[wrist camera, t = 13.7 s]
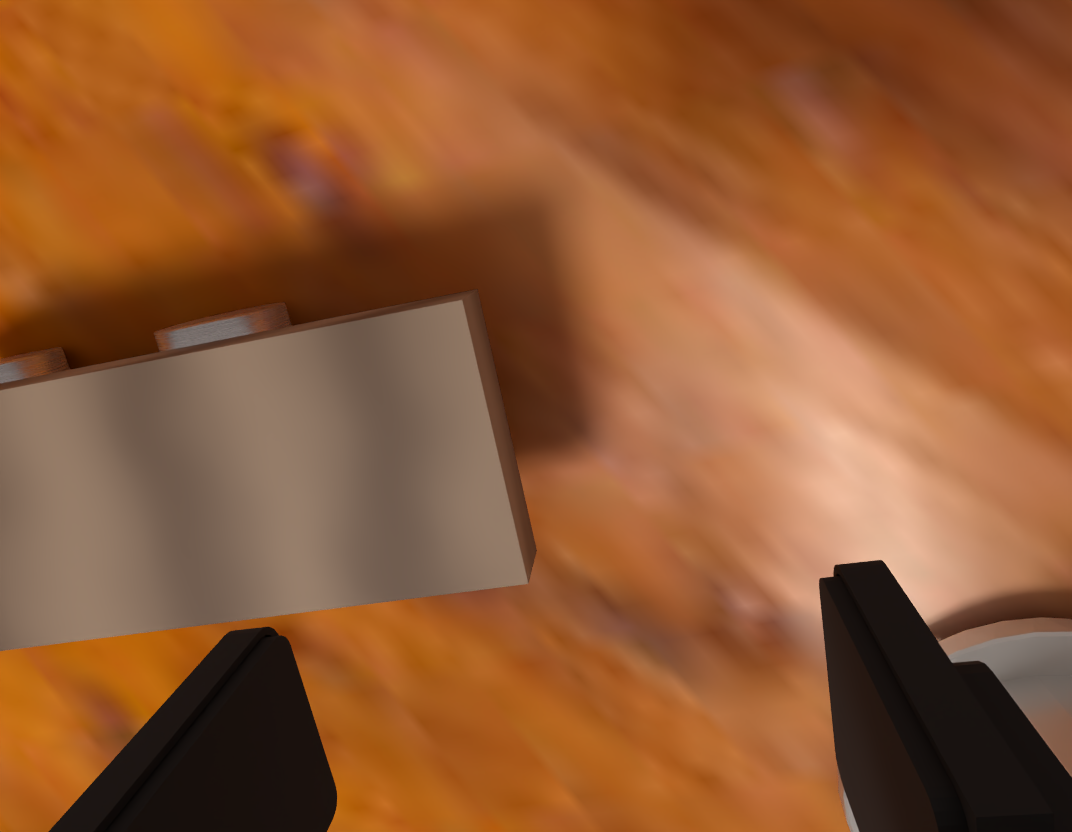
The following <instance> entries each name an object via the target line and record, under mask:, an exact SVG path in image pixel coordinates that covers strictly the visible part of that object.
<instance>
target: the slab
mask: <svg viewBox="0 0 1072 832" xmlns="http://www.w3.org/2000/svg"><path fill="white" fill-rule="evenodd" d="M536 551H537V550H536V545H535V541H534V536H533V532H532V527H531V523H530V519H529V514H528V510H527V505H526V501H525V497H524V492H523V488H522V483H521V479H520V474H519V470H518V466H517V461H516V457H515V452H514V448H513V444H512V439H511V435H510V430H509V426H508V422H507V417H506V413H505V408H504V404H503V399H502V395H501V391H500V386H499V382H498V377H497V373H496V369H495V364H494V360H493V355H492V351H491V346H490V342H489V338H488V333H487V329H486V324H485V320H484V316H483V311H482V307H481V302H480V298H479V294H478V289H475V290H470V291H465V292H460V293H455V294H450V295H445V296H440V297H435V298H430V299H425V300H420V301H415V302H410V303H405V304H399V305H394V306H389V307H384V308H379V309H374V310H369V311H364V312H359V313H354V314H349V315H344V316H339V317H334V318H329V319H324V320H319V321H314V322H309V323H303V324H298V325H293V326H288V327H283V328H278V329H273V330H268V331H263V332H258V333H253V334H248V335H243V336H238V337H233V338H228V339H223V340H218V341H212V342H207V343H202V344H198V345H193V346H188V347H182V348H177V349H172V350H167V351H162V352H157V353H152V354H147V355H142V356H137V357H132V358H127V359H122V360H116V361H111V362H106V363H101V364H96V365H91V366H86V367H81V368H76V369H71V370H66V371H61V372H56V373H51V374H46V375H41V376H36V377H31V378H25V379H20V380H15V381H10V382H5V383H0V651H3V650H11V649H19V648H27V647H34V646H42V645H50V644H58V643H66V642H74V641H82V640H90V639H97V638H105V637H113V636H121V635H129V634H137V633H145V632H152V631H160V630H168V629H176V628H184V627H192V626H200V625H208V624H215V623H223V622H231V621H239V620H247V619H255V618H263V617H271V616H278V615H286V614H294V613H302V612H310V611H318V610H326V609H333V608H341V607H349V606H357V605H365V604H373V603H381V602H389V601H396V600H404V599H412V598H420V597H428V596H436V595H444V594H451V593H459V592H467V591H475V590H483V589H491V588H499V587H507V586H514V585H522V584H528V583H529V579H530V575H531V571H532V567H533V563H534V559H535V555H536Z"/></svg>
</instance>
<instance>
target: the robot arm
mask: <svg viewBox="0 0 1072 832" xmlns="http://www.w3.org/2000/svg"><path fill="white" fill-rule="evenodd" d="M819 589H820V600H821V610H822V620H823V631H824V641H825V651H826V661H827V671H828V682H829V692H830V702H831V712H832V722H833V732H834V743H835V752H836V759H837V765H838V793H839V796H840V800H841V803H842V807H843V810H844V814H845V817H846V820H847V823H848V826H849V828H850V831H851V832H1072V619H1062V618H1046V617H1039V618H1029V619H1018V620H1007V621H1000V622H996V623H992V624H988V625H984V626H980V627H976V628H972V629H968V630H965V631H962V632H960V633H957V634H955V635H953V636H950V637H948V638H946V639H943V640H941V641H937V640H936V638H935V637H934V635H933V634H932V632H931V631H930V629H929V628H928V626H927V625H926V623H925V622H924V620H923V619H922V617H921V616H920V615H919V613H918V612H917V610H916V609H915V607H914V606H913V604H912V603H911V601H910V600H909V598H908V597H907V595H906V594H905V592H904V591H903V589H902V588H901V586H900V585H899V583H898V582H897V580H896V579H895V577H894V576H893V574H892V573H891V572H890V570H889V569H888V567H887V566H886V564H885V563H884V562H883V561H882V560H877V561H868V562H858V563H849V564H840V565H835V567H834V577H827V578H820V580H819ZM336 806H337V791H336V786H335V783H334V780H333V776H332V773H331V770H330V767H329V764H328V761H327V758H326V755H325V751H324V748H323V745H322V742H321V739H320V736H319V733H318V729H317V726H316V723H315V720H314V717H313V714H312V711H311V708H310V704H309V701H308V698H307V695H306V692H305V689H304V686H303V683H302V679H301V676H300V673H299V670H298V667H297V664H296V661H295V657H294V654H293V651H292V648H291V645H290V643H289V641H288V640H287V638H286V637H284V636H279V635H278V633H277V632H276V631H275V630H274V629H273V628H271V627H262V628H253V629H244V630H235V631H230V632H229V633H227V634H226V635H225V636H224V637H223V638H222V639H221V640H220V641H219V643H218V644H217V645H216V646H215V647H214V648H213V649H212V650H211V651H210V653H209V654H208V655H207V656H206V657H205V658H204V659H203V660H202V661H201V663H200V664H199V665H198V666H197V667H196V668H195V669H194V670H193V671H192V673H191V674H190V675H189V676H188V677H187V678H186V679H185V680H184V682H183V683H182V684H181V685H180V686H179V687H178V688H177V689H176V690H175V692H174V693H173V694H172V695H171V696H170V697H169V698H168V699H167V700H166V702H165V703H164V704H163V705H162V706H161V707H160V708H159V709H158V710H157V712H156V713H155V714H154V715H153V716H152V717H151V718H150V719H149V720H148V722H147V723H146V724H145V725H144V726H143V727H142V728H141V729H140V731H139V732H138V733H137V734H136V735H135V736H134V737H133V738H132V739H131V741H130V742H129V743H128V744H127V745H126V746H125V747H124V748H123V749H122V751H121V752H120V753H119V754H118V755H117V756H116V757H115V758H114V759H113V761H112V762H111V763H110V764H109V765H108V766H107V767H106V768H105V770H104V771H103V772H102V773H101V774H100V775H99V776H98V777H97V778H96V780H95V781H94V782H93V783H92V784H91V785H90V786H89V787H88V788H87V790H86V791H85V792H84V793H83V794H82V795H81V796H80V797H79V798H78V800H77V801H76V802H75V803H74V804H73V805H72V806H71V807H70V809H69V810H68V811H67V812H66V813H65V814H64V815H63V816H62V817H61V819H60V820H59V821H58V822H57V823H56V824H55V825H54V826H53V827H52V829H51V830H50V831H49V832H327V830H328V828H329V826H330V824H331V822H332V819H333V817H334V814H335V811H336Z"/></svg>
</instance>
